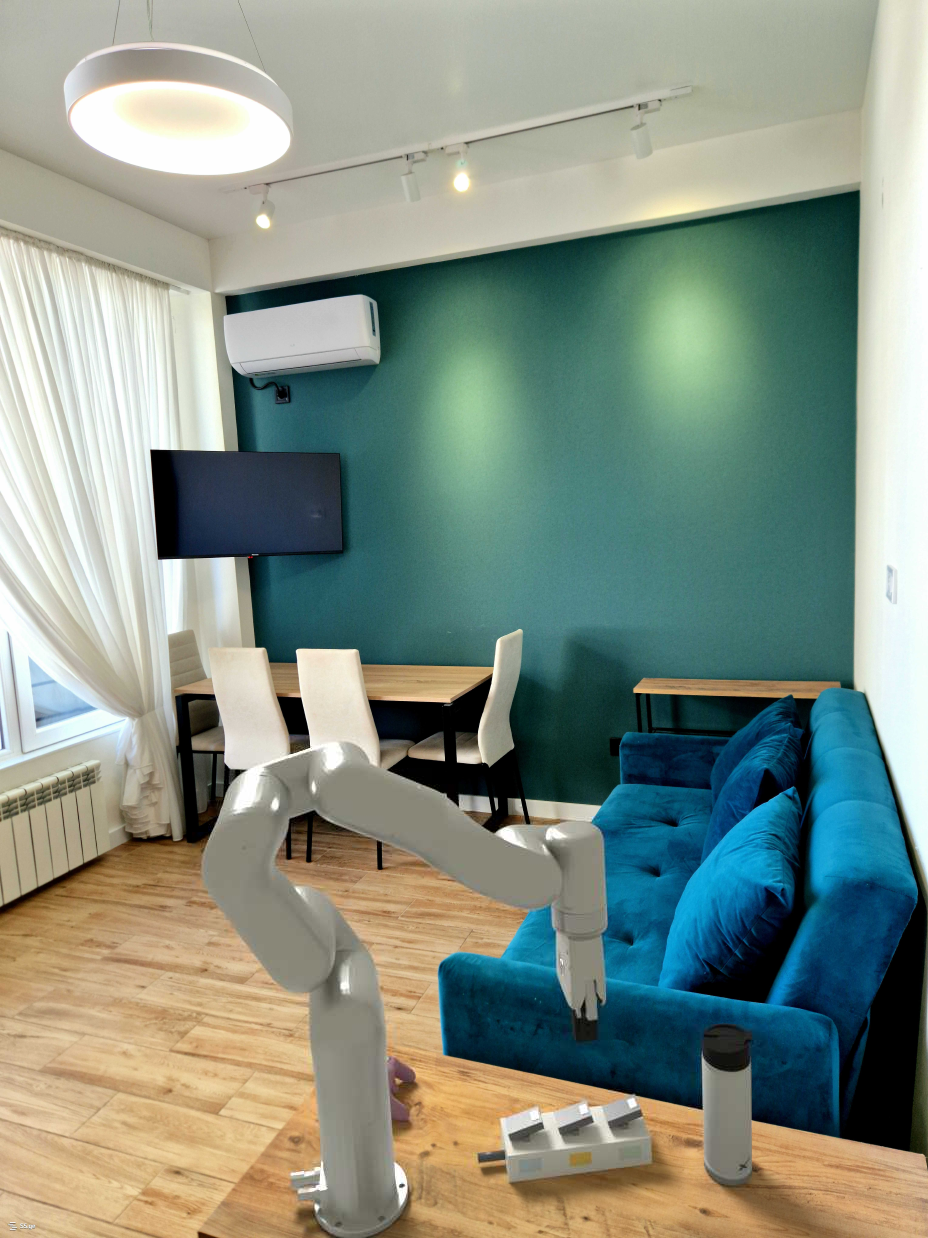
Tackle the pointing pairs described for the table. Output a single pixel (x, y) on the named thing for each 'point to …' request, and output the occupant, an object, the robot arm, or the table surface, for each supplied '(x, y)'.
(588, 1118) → the rocker middle
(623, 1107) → the rocker
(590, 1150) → the power strip
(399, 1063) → the video game controller
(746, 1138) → the travel mug
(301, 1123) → the table surface
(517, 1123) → the block
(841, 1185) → the table surface
